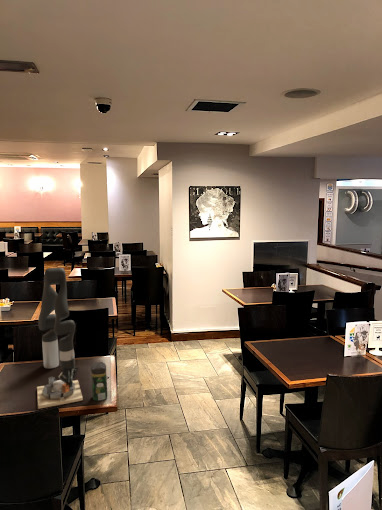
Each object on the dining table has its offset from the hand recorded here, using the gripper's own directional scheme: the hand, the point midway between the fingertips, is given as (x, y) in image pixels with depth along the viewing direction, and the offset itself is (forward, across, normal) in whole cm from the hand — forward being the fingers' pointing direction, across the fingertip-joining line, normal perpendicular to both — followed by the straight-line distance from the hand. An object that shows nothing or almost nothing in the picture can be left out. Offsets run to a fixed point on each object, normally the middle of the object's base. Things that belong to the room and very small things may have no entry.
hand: (69, 387), depth 216 cm
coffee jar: (+5, -7, +15) cm, 17 cm away
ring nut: (+3, +2, -6) cm, 7 cm away
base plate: (+5, +2, -6) cm, 8 cm away
